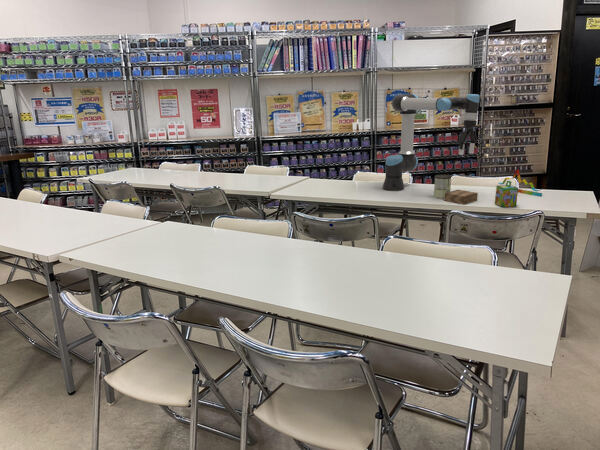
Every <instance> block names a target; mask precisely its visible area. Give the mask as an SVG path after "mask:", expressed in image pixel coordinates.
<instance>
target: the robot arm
mask: <svg viewBox="0 0 600 450" xmlns="http://www.w3.org/2000/svg"><path fill="white" fill-rule="evenodd" d="M480 97H481V96H480V94H476V93H474V94H473V93H469V94H467V95H466V97H465V96H464V97H460V96H459V97H458V96H451V97H419V96H418V95H417V94H414V93H403V94H396V96H394V97H393V98H392V100H391V107H392V109H393V110H394V111H395V112H397V113H399V115H400V116H401V130H400V131H401V133H400V151H398V154H393V155H392V154H391V155H388V156H387V157H386V158H385V176H384V177H385V179H384V181H383V184H382V189H383V190H386V191H391V192H392V191H393V192H395V191H397V192H398V191H403V190H405V183H404V180H403V173H406V172H411V171H414V170H415V169H416V168H417V167H418V165H419V160H418V157H417V156H416V152H415V150H414V135H415V134H414V133H415V131H414V130H415V116H416V115H418V114H417V112H418V111H441V112H446V111H455V110H457V111H458V110H459V111H460V110H463V111H464V117H463V118H464V119H463V127H462V130H461V132H460V136H459V139H458V141H457V143H458V145H459V149H458V155H460V156H463V155H465V154H464V151H465V142H466V141H467V139H468V137H469V140H470V143H469V150H468V154H474V152H475V145H476V144H477V142H478V138H477V119H478V115H479V114H478V112H479V104H480Z"/></svg>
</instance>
